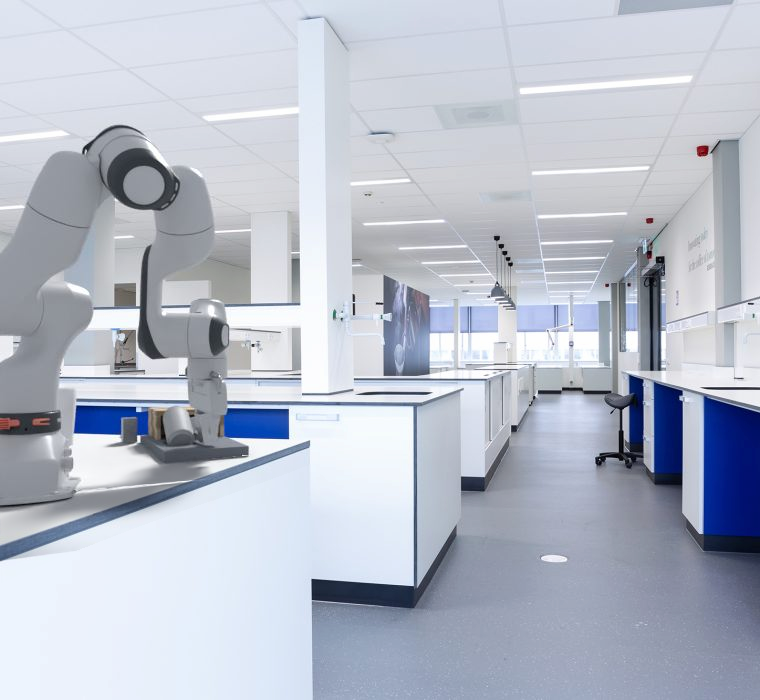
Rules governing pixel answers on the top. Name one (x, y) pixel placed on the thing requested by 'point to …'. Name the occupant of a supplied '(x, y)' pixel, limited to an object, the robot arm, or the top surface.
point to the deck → (193, 449)
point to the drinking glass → (67, 412)
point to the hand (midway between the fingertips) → (207, 431)
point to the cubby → (158, 427)
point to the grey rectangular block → (202, 428)
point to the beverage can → (178, 426)
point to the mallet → (129, 430)
